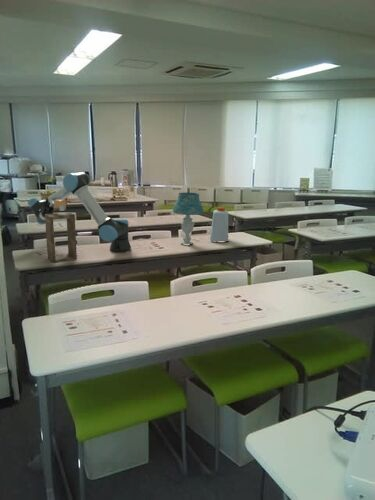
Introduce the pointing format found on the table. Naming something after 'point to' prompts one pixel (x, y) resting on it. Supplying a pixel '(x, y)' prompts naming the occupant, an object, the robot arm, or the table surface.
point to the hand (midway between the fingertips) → (54, 201)
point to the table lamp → (188, 212)
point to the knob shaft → (59, 205)
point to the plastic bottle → (219, 225)
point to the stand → (70, 233)
